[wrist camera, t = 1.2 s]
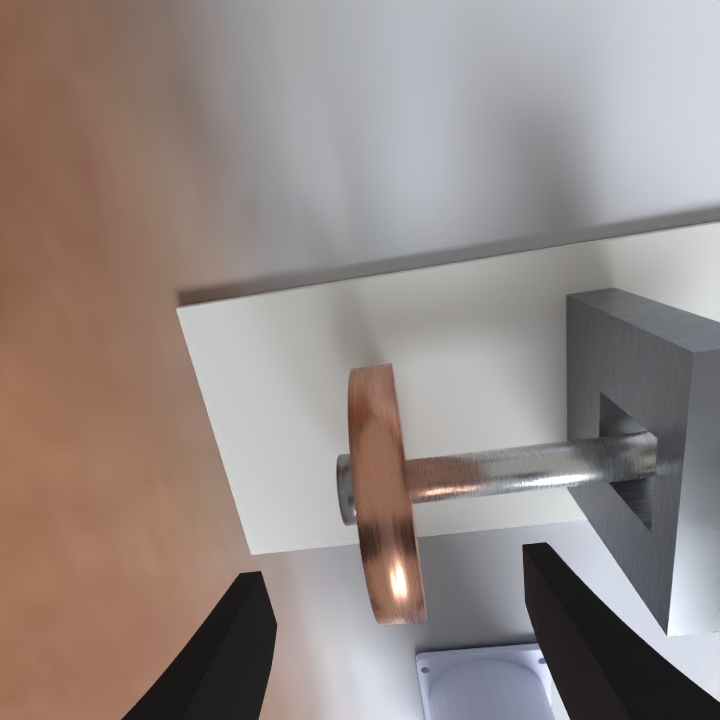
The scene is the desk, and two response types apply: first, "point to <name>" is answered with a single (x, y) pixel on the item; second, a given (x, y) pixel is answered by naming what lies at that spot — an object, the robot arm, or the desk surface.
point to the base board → (417, 373)
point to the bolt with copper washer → (446, 484)
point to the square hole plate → (674, 446)
